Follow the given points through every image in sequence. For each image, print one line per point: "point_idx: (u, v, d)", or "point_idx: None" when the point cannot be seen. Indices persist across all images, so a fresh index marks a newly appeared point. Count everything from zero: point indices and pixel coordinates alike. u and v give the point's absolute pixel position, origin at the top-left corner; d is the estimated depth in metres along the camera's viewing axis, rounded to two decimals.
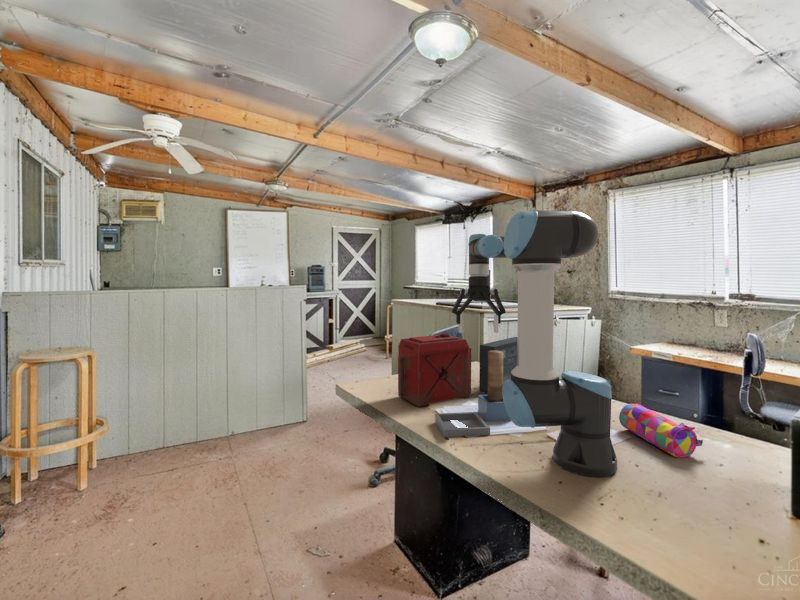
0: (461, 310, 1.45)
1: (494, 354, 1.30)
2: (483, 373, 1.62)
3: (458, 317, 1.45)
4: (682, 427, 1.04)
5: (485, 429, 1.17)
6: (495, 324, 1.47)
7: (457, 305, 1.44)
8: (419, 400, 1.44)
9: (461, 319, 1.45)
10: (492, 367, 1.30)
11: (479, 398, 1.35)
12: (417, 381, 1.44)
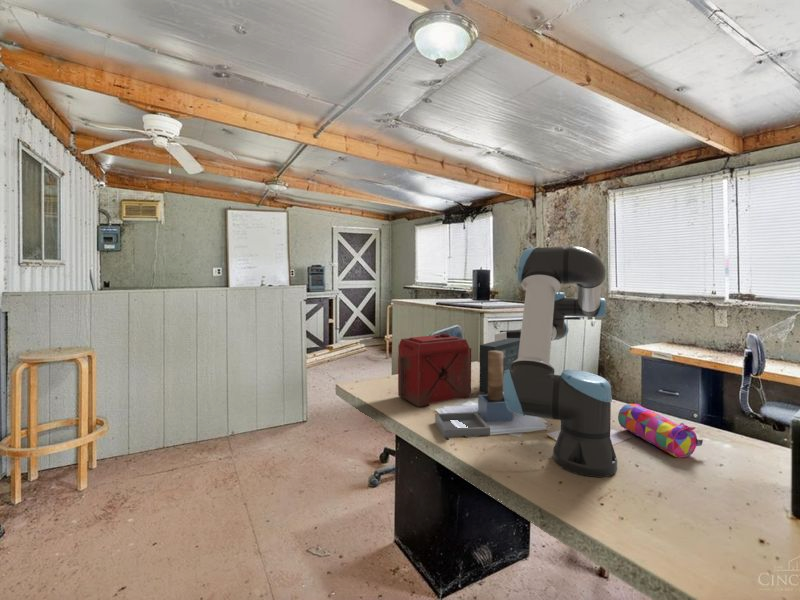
0: (508, 331, 1.49)
1: (494, 354, 1.30)
2: (483, 373, 1.62)
3: None
4: (682, 427, 1.04)
5: (485, 429, 1.17)
6: None
7: (507, 330, 1.51)
8: (419, 400, 1.44)
9: (503, 332, 1.47)
10: (492, 367, 1.30)
11: (479, 398, 1.35)
12: (417, 381, 1.44)
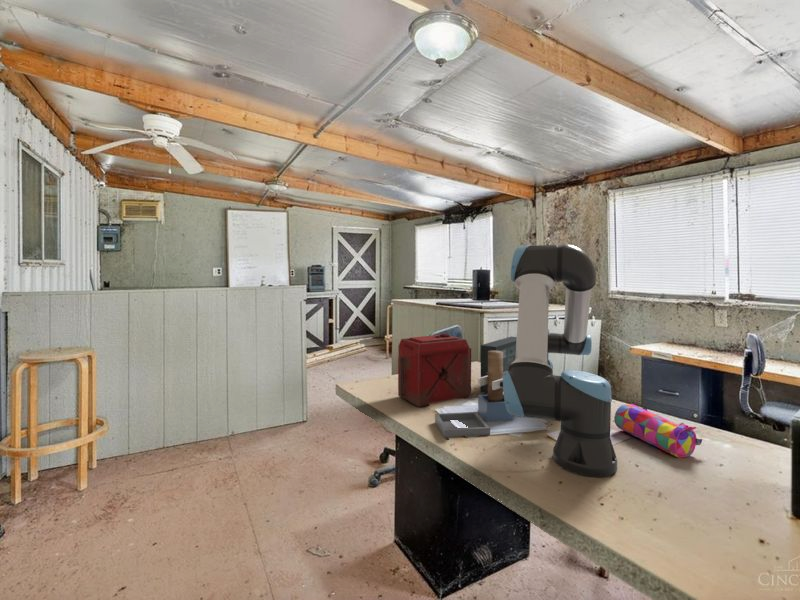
0: None
1: (494, 354, 1.29)
2: (484, 373, 1.62)
3: None
4: (684, 427, 1.04)
5: (485, 429, 1.17)
6: None
7: None
8: (419, 400, 1.44)
9: (487, 375, 1.34)
10: (492, 367, 1.30)
11: (479, 398, 1.35)
12: (417, 381, 1.44)
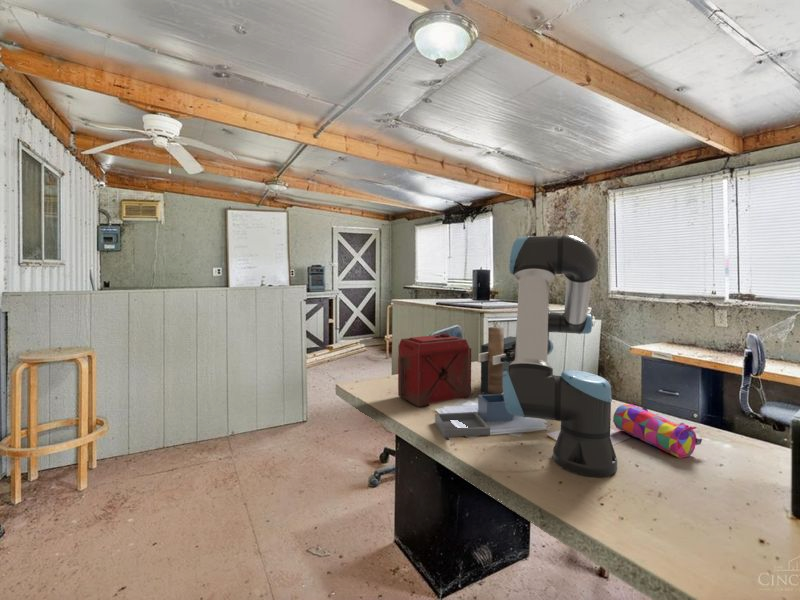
0: None
1: (494, 330, 1.30)
2: (485, 373, 1.62)
3: None
4: (684, 427, 1.04)
5: (485, 429, 1.17)
6: None
7: None
8: (419, 400, 1.44)
9: None
10: (492, 343, 1.30)
11: (479, 398, 1.35)
12: (417, 381, 1.44)
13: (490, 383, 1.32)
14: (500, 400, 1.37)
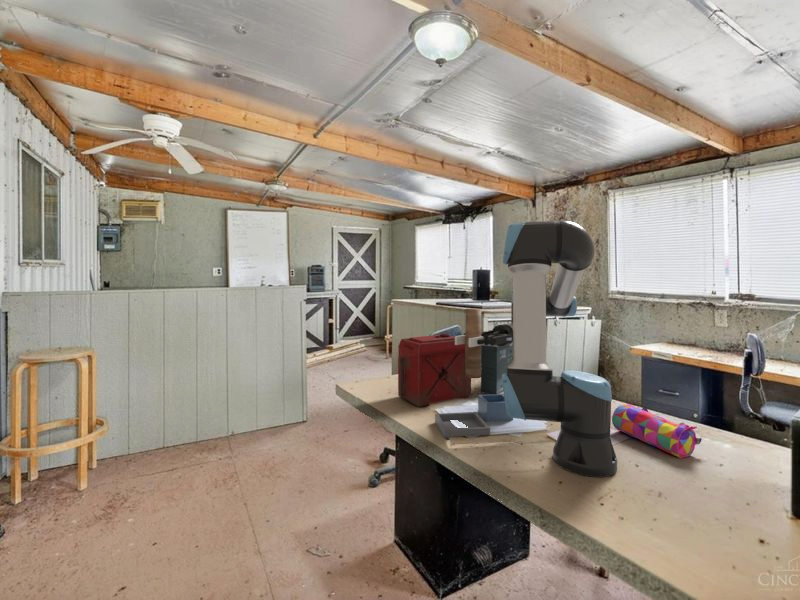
0: None
1: (471, 311, 1.24)
2: (485, 373, 1.62)
3: None
4: (685, 427, 1.04)
5: (485, 429, 1.17)
6: None
7: None
8: (419, 400, 1.44)
9: (465, 335, 1.29)
10: (469, 324, 1.24)
11: (479, 398, 1.35)
12: (417, 381, 1.44)
13: (467, 367, 1.26)
14: (500, 400, 1.37)
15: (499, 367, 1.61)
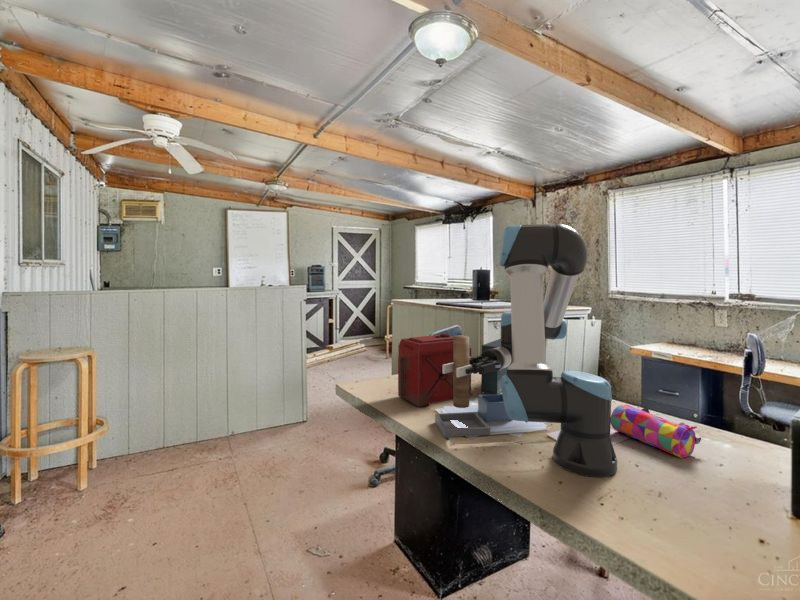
0: None
1: (459, 339, 1.20)
2: (485, 373, 1.62)
3: None
4: (685, 427, 1.04)
5: (485, 429, 1.17)
6: None
7: None
8: (419, 400, 1.44)
9: None
10: (457, 353, 1.21)
11: (479, 398, 1.35)
12: (417, 381, 1.44)
13: (455, 396, 1.22)
14: (500, 400, 1.37)
15: None
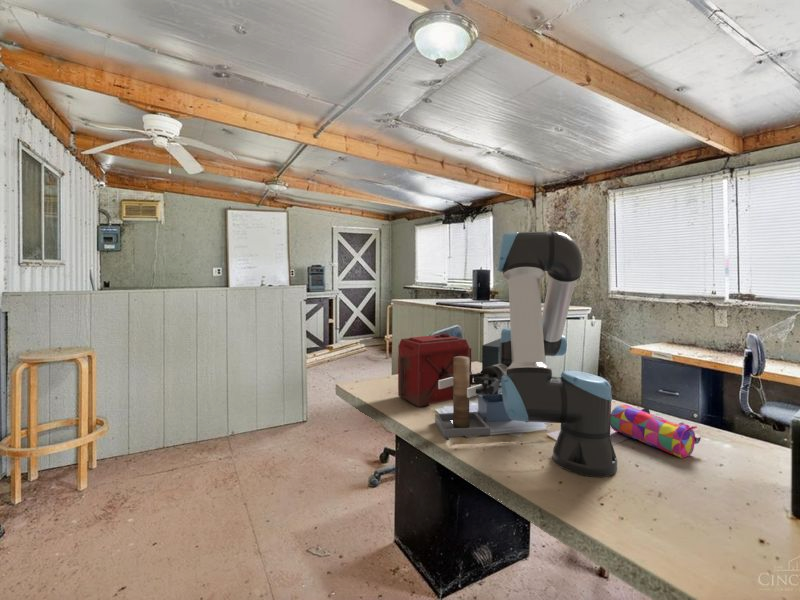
0: None
1: (459, 360, 1.20)
2: None
3: None
4: (685, 427, 1.04)
5: (485, 429, 1.17)
6: None
7: None
8: (419, 400, 1.44)
9: (449, 378, 1.28)
10: (457, 374, 1.21)
11: (479, 398, 1.35)
12: (417, 381, 1.44)
13: (455, 417, 1.22)
14: (500, 400, 1.37)
15: None
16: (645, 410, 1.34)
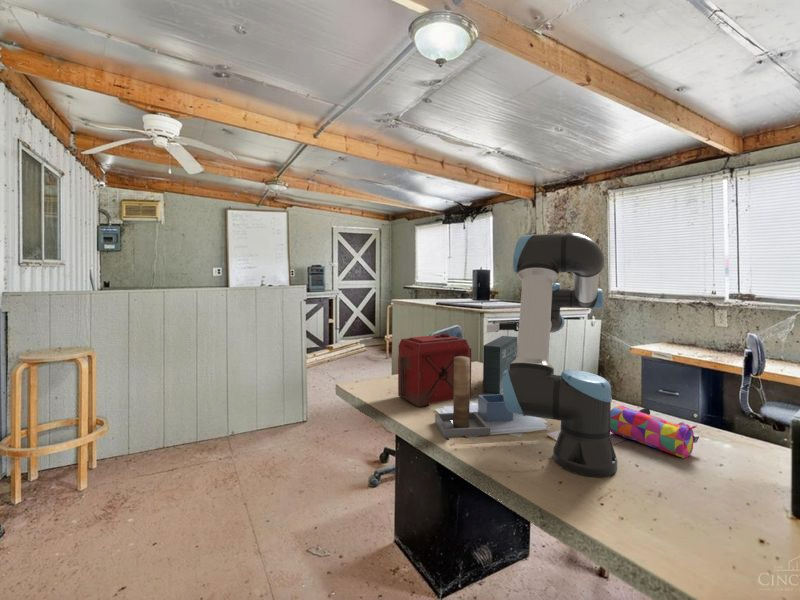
0: (501, 323, 1.43)
1: (459, 360, 1.20)
2: (487, 373, 1.61)
3: None
4: (687, 427, 1.04)
5: (485, 429, 1.17)
6: None
7: (500, 322, 1.46)
8: (419, 400, 1.44)
9: (495, 323, 1.41)
10: (457, 374, 1.21)
11: (479, 398, 1.35)
12: (417, 381, 1.44)
13: (455, 417, 1.22)
14: (500, 400, 1.37)
15: (501, 367, 1.61)
16: (645, 410, 1.34)
